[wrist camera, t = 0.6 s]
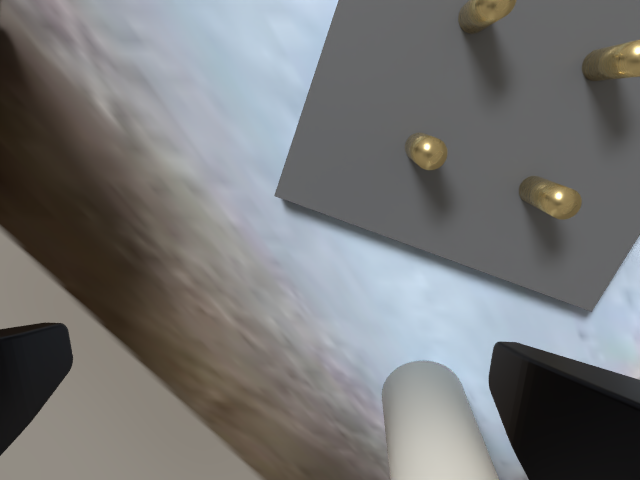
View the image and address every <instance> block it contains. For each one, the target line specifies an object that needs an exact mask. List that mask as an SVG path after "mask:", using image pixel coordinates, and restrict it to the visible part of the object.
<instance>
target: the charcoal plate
mask: <svg viewBox="0 0 640 480" xmlns="http://www.w3.org/2000/svg"><path fill="white" fill-rule="evenodd" d="M274 196H276V197H279V198H281V199H284V200H287V201H290V202H292V203H295V204H298V205H301V206H303V207H306V208H309V209H312V210H314V211H317V212H320V213H323V214H325V215H328V216H331V217H334V218H336V219H339V220H342V221H344V222H347V223H350V224H353V225H355V226H358V227H361V228H364V229H366V230H369V231H372V232H375V233H377V234H380V235H383V236H386V237H388V238H391V239H394V240H397V241H399V242H402V243H405V244H407V245H410V246H413V247H416V248H418V249H421V250H424V251H427V252H429V253H432V254H435V255H438V256H440V257H443V258H446V259H449V260H451V261H454V262H457V263H460V264H462V265H465V266H468V267H470V268H473V269H476V270H479V271H481V272H484V273H487V274H490V275H492V276H495V277H498V278H501V279H503V280H506V281H509V282H512V283H514V284H517V285H520V286H523V287H525V288H528V289H531V290H533V291H536V292H539V293H542V294H544V295H547V296H550V297H553V298H555V299H558V300H561V301H564V302H566V303H569V304H572V305H575V306H577V307H580V308H583V309H586V310H588V311H591V312H592V310H593V309H594V307H595V305H596V304H597V302H598V301H599V299H600V297H601V296H602V294H603V293H604V291H605V289H606V288H607V286H608V285H609V283H610V281H611V280H612V278H613V277H614V275H615V273H616V272H617V270H618V269H619V267H620V265H621V264H622V262H623V261H624V259H625V257H626V256H627V254H628V253H629V251H630V249H631V248H632V246H633V244H634V243H635V241H636V240H637V238H638V236H639V235H640V0H339V1H338V4H337V7H336V10H335V13H334V16H333V19H332V22H331V25H330V28H329V31H328V34H327V37H326V40H325V43H324V47H323V50H322V53H321V56H320V59H319V62H318V65H317V68H316V71H315V74H314V77H313V80H312V83H311V86H310V89H309V92H308V95H307V98H306V101H305V104H304V107H303V110H302V113H301V116H300V119H299V123H298V126H297V129H296V132H295V135H294V138H293V141H292V144H291V147H290V150H289V153H288V156H287V159H286V162H285V165H284V168H283V171H282V174H281V177H280V180H279V183H278V186H277V189H276V192H275V195H274Z"/></svg>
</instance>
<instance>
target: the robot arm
mask: <svg viewBox="0 0 640 480" xmlns="http://www.w3.org/2000/svg"><path fill="white" fill-rule="evenodd" d="M72 363H73V355H72V349H71V344H70V338H69V332H68V329H67V327H66V326H65V325H64V324H62V323H40V324H33V325H26V326H20V327H13V328H7V329H0V456H1V454H2V453H3V452H4V451H5V450H6V449H7V448H8V447H9V446H10V445H11V443H12V442H13V441H14V440H15V439H16V438H17V437H18V436H19V435H20V434H21V433H22V431H23V430H24V429H25V428H26V427H27V426H28V425H29V423H30V422H31V421H32V420H33V418H34V417H35V416H36V415H37V413H38V412H39V411H40V410H41V408H42V407H43V405H44V404H45V403H46V402H47V400H48V399H49V398H50V396H51V395H52V394H53V392H54V391H55V390H56V388H57V387H58V386H59V384H60V383H61V382H62V380H63V379H64V378H65V376H66V375H67V374H68V372H69V371H70V369H71V366H72ZM489 388H490V391H491V394H492V397H493V399H494V402H495V404H496V407H497V410H498V412H499V415H500V418H501V420H502V423H503V425H504V428H505V431H506V433H507V436H508V438H509V441H510V443H511V446H512V448H513V450H514V452H515V454H516V456H517V458H518V460H519V462H520V463H521V465H522V467H523V469H524V471H525V473H526V475H527V477H528V479H529V480H640V380H638V379H635V378H632V377H628V376H625V375H622V374H619V373H615V372H612V371H609V370H605V369H602V368H599V367H596V366H592V365H589V364H586V363H582V362H579V361H576V360H573V359H569V358H566V357H563V356H559V355H556V354H553V353H549V352H546V351H543V350H540V349H536V348H533V347H530V346H526V345H523V344H520V343H516V342H497V343H496V344H495V345H494V348H493V353H492V359H491V365H490V371H489Z"/></svg>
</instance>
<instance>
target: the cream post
mask: <svg viewBox="0 0 640 480" xmlns="http://www.w3.org/2000/svg"><path fill="white" fill-rule="evenodd" d="M382 404H383V413H384V423H385V432H386V442H387V451H388V461H389V470H390V480H499V478H498V476H497V473H496V471H495V468H494V465H493V463H492V460H491V458H490V455H489V453H488V450H487V448H486V445H485V443H484V440H483V438H482V435H481V433H480V430H479V428H478V425H477V423H476V420H475V418H474V415H473V412H472V410H471V407H470V405H469V402H468V400H467V397H466V395H465V392H464V390H463V387H462V385H461V382H460V380H459V378H458V377H457V376H456V374H455V373H454V372H453V371H452V370H450V369H449V368H447V367H446V366H444V365H442V364H439V363H436V362H432V361H414V362H410V363H406V364H404V365H402V366H400V367H398V368H397V369H396V370H394V371H393V372H392V373H391V374H390V375H389V376H388V378H387V379H386V381H385V383H384V385H383V389H382Z"/></svg>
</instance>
